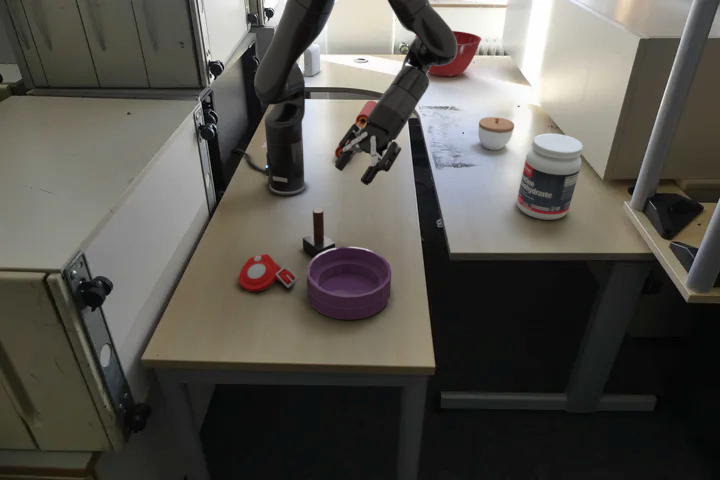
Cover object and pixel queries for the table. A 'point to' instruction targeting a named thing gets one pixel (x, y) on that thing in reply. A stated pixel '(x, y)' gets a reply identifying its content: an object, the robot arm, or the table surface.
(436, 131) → the table surface
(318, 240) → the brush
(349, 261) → the bowl
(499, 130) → the trinket box
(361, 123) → the blood vessel
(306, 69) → the photo printer
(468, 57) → the mixing bowl
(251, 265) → the tracker holder
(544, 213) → the supplement tub
